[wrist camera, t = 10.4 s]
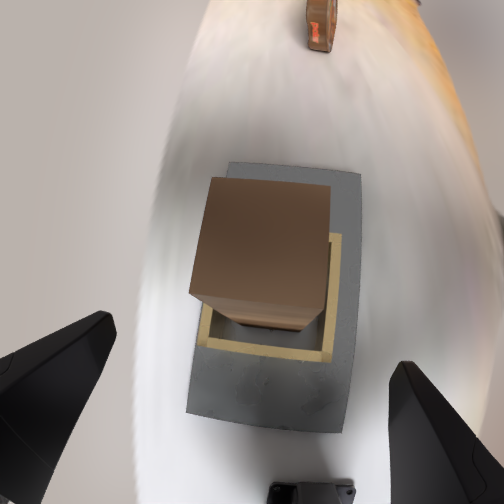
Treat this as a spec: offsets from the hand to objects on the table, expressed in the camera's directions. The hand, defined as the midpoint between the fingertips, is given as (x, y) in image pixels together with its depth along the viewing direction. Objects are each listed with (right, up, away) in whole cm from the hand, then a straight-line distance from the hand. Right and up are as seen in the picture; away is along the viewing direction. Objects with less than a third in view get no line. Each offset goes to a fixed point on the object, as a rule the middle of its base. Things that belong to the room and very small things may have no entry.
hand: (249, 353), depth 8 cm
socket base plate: (+2, 0, +14) cm, 14 cm away
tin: (+10, +32, +24) cm, 41 cm away
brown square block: (+2, 0, +13) cm, 13 cm away
